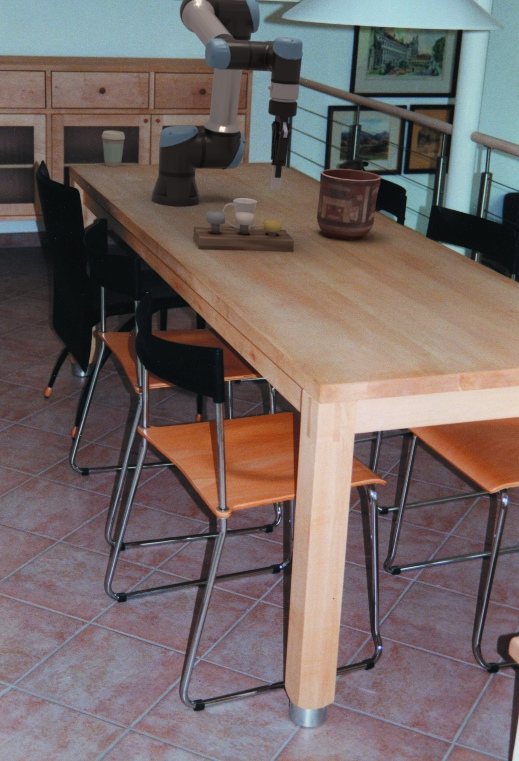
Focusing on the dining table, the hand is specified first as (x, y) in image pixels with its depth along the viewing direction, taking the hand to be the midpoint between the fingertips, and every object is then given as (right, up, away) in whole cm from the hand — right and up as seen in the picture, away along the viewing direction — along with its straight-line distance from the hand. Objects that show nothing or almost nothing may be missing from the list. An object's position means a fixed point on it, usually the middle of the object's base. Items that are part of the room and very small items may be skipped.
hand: (275, 188), depth 267 cm
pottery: (+21, -9, +24) cm, 33 cm away
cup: (-11, -7, +22) cm, 25 cm away
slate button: (-17, -12, +1) cm, 20 cm away
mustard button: (-1, -13, +5) cm, 14 cm away
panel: (-9, -15, +4) cm, 18 cm away
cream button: (-9, -12, +3) cm, 15 cm away
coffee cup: (-58, +27, +95) cm, 114 cm away
